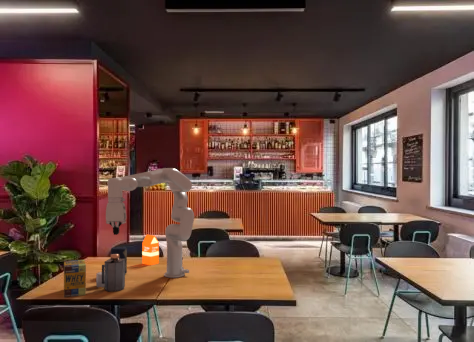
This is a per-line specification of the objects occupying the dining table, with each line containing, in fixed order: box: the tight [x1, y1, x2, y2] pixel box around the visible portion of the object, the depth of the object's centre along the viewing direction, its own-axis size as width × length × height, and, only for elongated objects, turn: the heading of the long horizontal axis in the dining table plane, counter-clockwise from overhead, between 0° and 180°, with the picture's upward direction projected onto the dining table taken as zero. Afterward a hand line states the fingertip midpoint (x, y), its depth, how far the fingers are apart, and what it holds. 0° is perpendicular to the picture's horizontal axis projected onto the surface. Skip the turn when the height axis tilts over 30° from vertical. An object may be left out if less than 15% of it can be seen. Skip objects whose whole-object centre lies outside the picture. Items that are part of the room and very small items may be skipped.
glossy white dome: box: [95, 271, 105, 288], centre depth 221 cm, size 7×7×7 cm
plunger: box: [110, 253, 119, 262], centre depth 215 cm, size 7×7×13 cm
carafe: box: [101, 258, 126, 293], centre depth 215 cm, size 12×10×16 cm
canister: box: [110, 245, 128, 275], centre depth 246 cm, size 10×10×18 cm
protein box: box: [63, 259, 87, 298], centre depth 209 cm, size 10×15×16 cm
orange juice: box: [141, 234, 160, 266], centre depth 278 cm, size 8×9×20 cm
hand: (116, 234), depth 216 cm, fingers closed
